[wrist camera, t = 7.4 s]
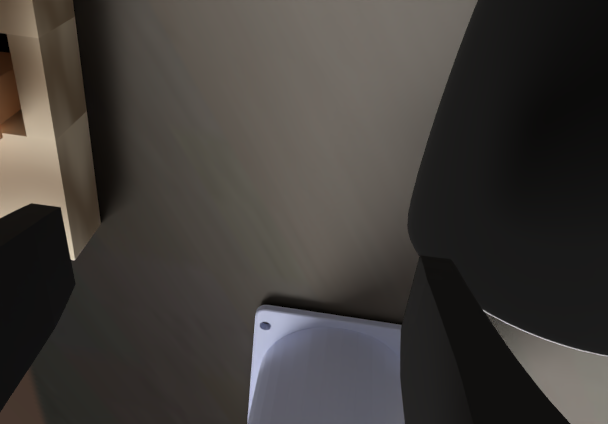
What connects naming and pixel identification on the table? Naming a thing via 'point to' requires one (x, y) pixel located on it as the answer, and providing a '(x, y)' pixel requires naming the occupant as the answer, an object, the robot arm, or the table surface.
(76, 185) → the rail
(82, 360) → the table surface
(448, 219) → the black cylindrical speaker
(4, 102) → the clip
